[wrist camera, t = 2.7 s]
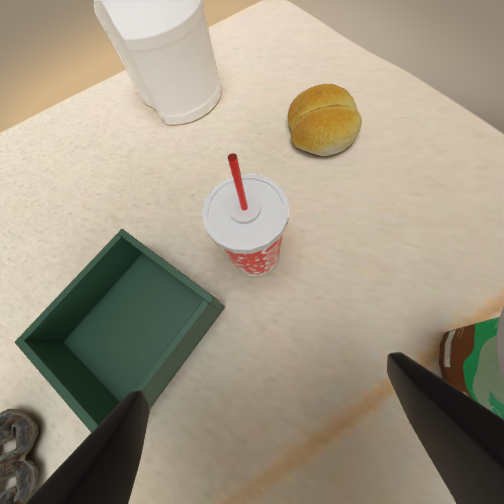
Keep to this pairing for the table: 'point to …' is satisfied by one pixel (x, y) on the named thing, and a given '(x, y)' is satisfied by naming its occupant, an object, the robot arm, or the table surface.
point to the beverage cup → (247, 219)
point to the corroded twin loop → (18, 456)
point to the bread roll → (324, 120)
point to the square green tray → (118, 329)
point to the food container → (476, 362)
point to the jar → (165, 54)
